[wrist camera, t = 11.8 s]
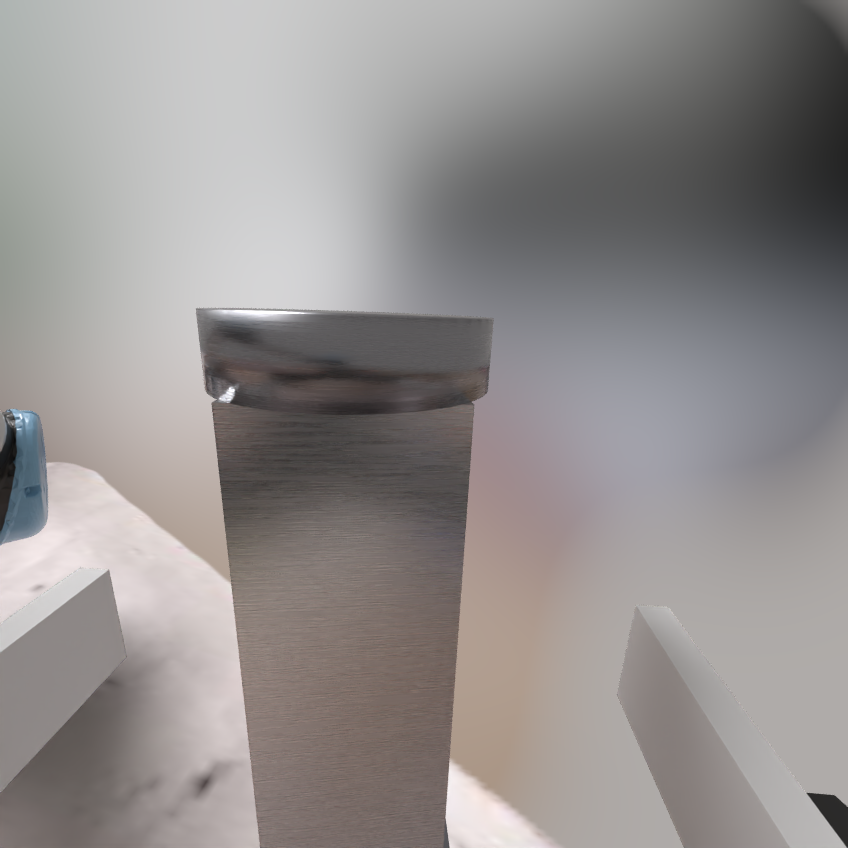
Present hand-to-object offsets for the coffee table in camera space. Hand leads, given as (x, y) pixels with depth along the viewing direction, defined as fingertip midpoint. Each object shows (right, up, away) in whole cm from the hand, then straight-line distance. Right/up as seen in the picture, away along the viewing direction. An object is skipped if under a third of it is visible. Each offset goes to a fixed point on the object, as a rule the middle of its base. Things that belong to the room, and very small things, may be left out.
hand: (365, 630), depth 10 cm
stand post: (-1, -17, +5) cm, 18 cm away
